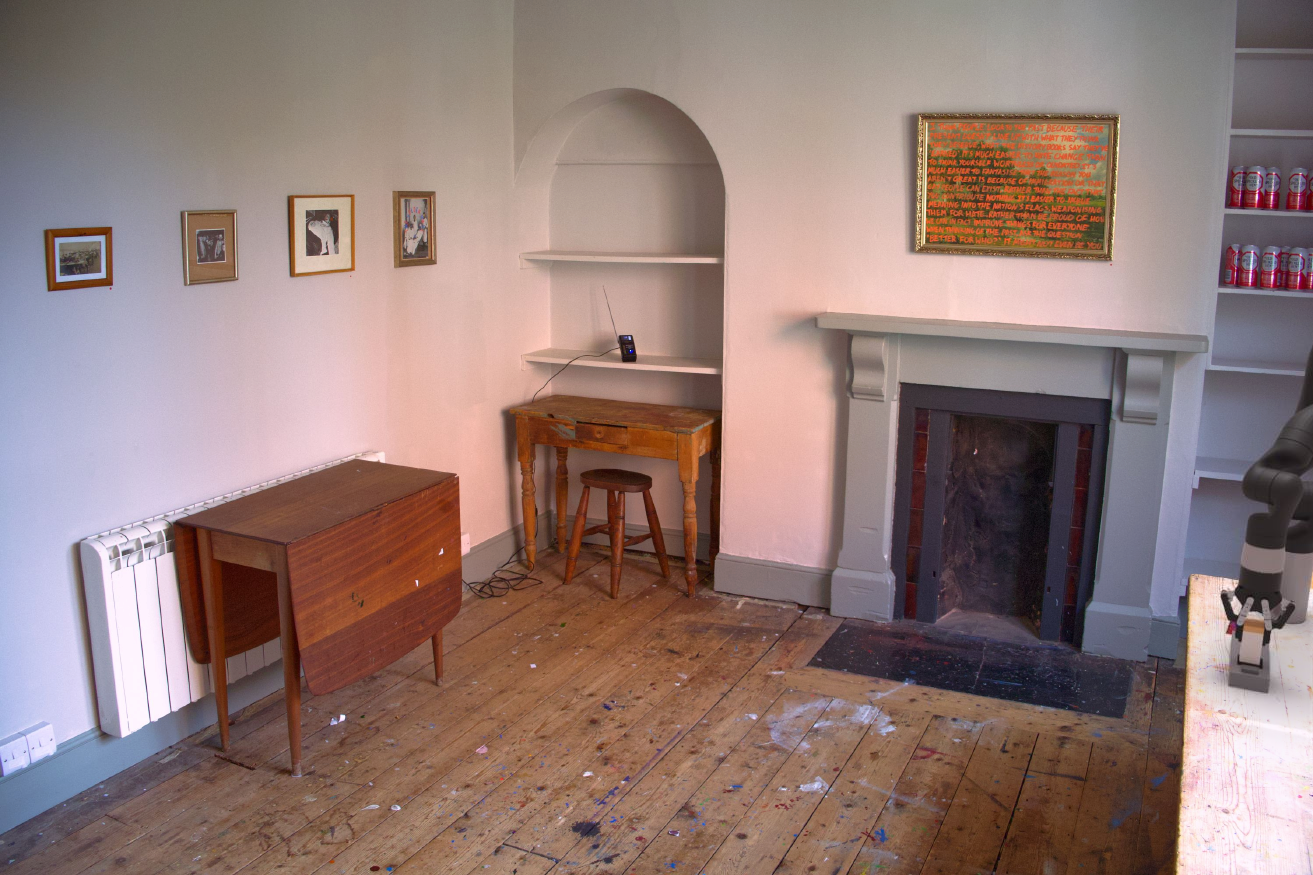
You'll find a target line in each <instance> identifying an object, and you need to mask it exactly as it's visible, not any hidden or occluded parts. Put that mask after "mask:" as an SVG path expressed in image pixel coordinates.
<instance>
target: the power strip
mask: <svg viewBox="0 0 1313 875" xmlns="http://www.w3.org/2000/svg"><path fill="white" fill-rule="evenodd" d="M1240 647H1241V642H1238V639H1236V638H1235V631H1232V635H1231V637H1230V650H1229V651H1230V652H1229V667H1228V669H1229V670H1228V687H1233V688H1238V689H1244V690H1250V691H1254V692H1260V693H1265V694H1268V693H1269V690H1270V689H1269V688H1270V681H1271V675H1270V674H1271V673H1270V671H1271V670H1270V669H1271V668H1270V666H1271V665H1270V643H1269V644H1265V646H1262V649H1261V656H1260V664H1259V665H1257V664H1252V663H1246V662H1241V661H1239V657H1240Z"/></svg>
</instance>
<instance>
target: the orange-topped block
mask: <svg viewBox="0 0 1313 875" xmlns="http://www.w3.org/2000/svg"><path fill="white" fill-rule="evenodd" d="M1264 623H1265V622H1264V619H1262V620H1261V619H1256V618H1252V617H1251V618H1250V617H1246V619H1245V621H1244V628H1243V635H1242V642H1241V647H1240V657H1239V661H1241V662H1246V663H1252V664H1257V665H1259V664H1260V656H1261V649H1262V642H1263V634H1264Z"/></svg>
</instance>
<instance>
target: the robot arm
mask: <svg viewBox="0 0 1313 875" xmlns="http://www.w3.org/2000/svg"><path fill="white" fill-rule="evenodd" d="M1311 469H1313V344H1312V345H1311V348H1310V350H1309V353H1308V356H1307V361H1306V366H1305V371H1304V376H1303V381H1302V387H1301V392H1300V396H1299V399H1298V402H1297V406H1296V408H1295V412H1294V415H1292V417H1290V418H1289V419H1288V421H1287V422H1286V423H1285V424H1284V426H1283V427H1282V429H1281V431H1280V432H1279V434H1278V436H1277V438H1276V440H1275V441H1274V443H1273V445H1272V446H1271V447H1270V448H1269V449H1268V450H1267V451H1266V452H1265V453H1264V454H1263V455H1262V456H1261V457H1260V458H1259V459H1258V460H1257V461H1255V462H1254V463H1253V464H1252V466H1250V467H1249V469H1248V470H1247V471H1246V472H1245V474H1244V475H1243V478H1242V480H1241V491H1242V494H1243V495H1244V497H1246V499H1248V500H1251V501H1255V502H1259V503H1262V504H1267V510H1268V512H1254V513H1252V514H1251V515H1249V517H1248V520H1247V522H1246V523H1247V524H1246V529H1245V530H1246V532H1245V540H1244V544H1243V547H1242V551H1241V552H1242V553H1241V557H1240V565H1239V566H1240V567H1239V575H1238V581H1237V582H1238V583H1237V586H1235V588H1234V590H1229V591H1227V590H1225V589H1221V591H1220V596H1219V597H1220V600H1221V603H1222V606H1223V610H1224V613H1225V616H1226V618H1227V620H1228V621H1229V622H1230V621H1233V622H1235V623H1236V629H1235V638H1236V639H1238V642H1242V635H1243V628H1244V621H1245V619H1246V618H1248V616H1249V613H1250V612H1251V613H1254V612H1255V613H1258V614H1262V615H1263V621H1264V623H1265V626H1264V634H1263V642H1262V646H1265V644H1269V645H1270V643H1271V636H1272V635H1271V634H1272V631H1273V630H1275V629H1276V630H1282V629H1283V628H1284V626H1285V625H1286V624H1287V623H1289V624H1299V623H1304V622H1305V621H1306V620H1307V613H1308V606H1309V602H1310V601H1309V599H1310V592H1311V586H1312V579H1313V480H1302V478H1301V477H1302V476H1303V475H1304V474H1306V473H1307V472H1308V471H1310V470H1311ZM1293 520H1294V521H1299V522H1297V523H1295V524H1294V525H1291V526H1289V525H1290V523H1291V522H1292V521H1293ZM1234 597H1235V598H1236V599H1237V600H1238V602H1239V604H1240V605H1241V607H1240V608H1239V612H1238V614H1236V613H1235V612H1234V610H1233V606H1232V602H1233V601H1234Z"/></svg>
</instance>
